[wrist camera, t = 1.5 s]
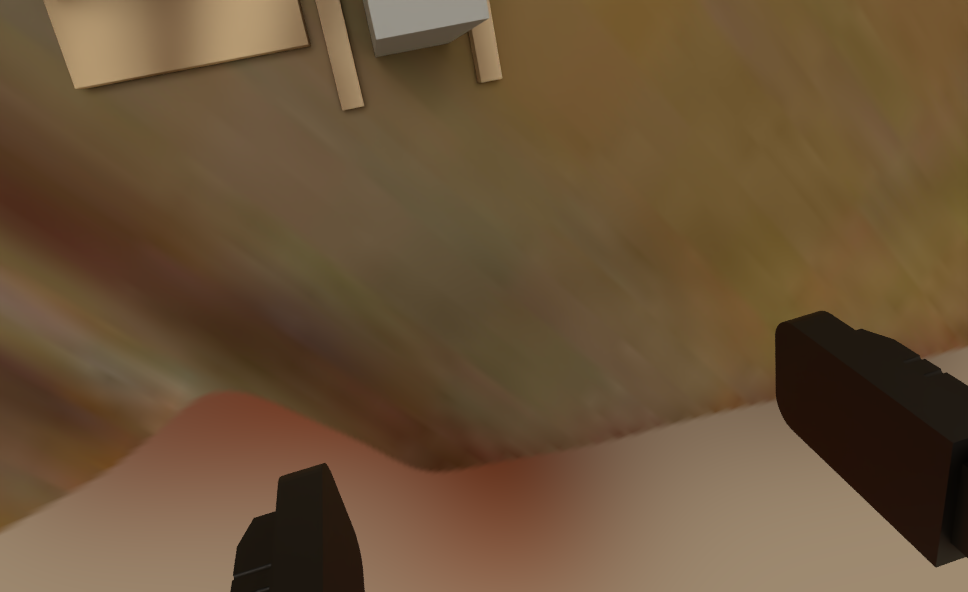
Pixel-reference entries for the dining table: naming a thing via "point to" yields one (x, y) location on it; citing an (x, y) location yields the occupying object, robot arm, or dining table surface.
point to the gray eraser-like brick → (420, 22)
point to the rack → (211, 38)
